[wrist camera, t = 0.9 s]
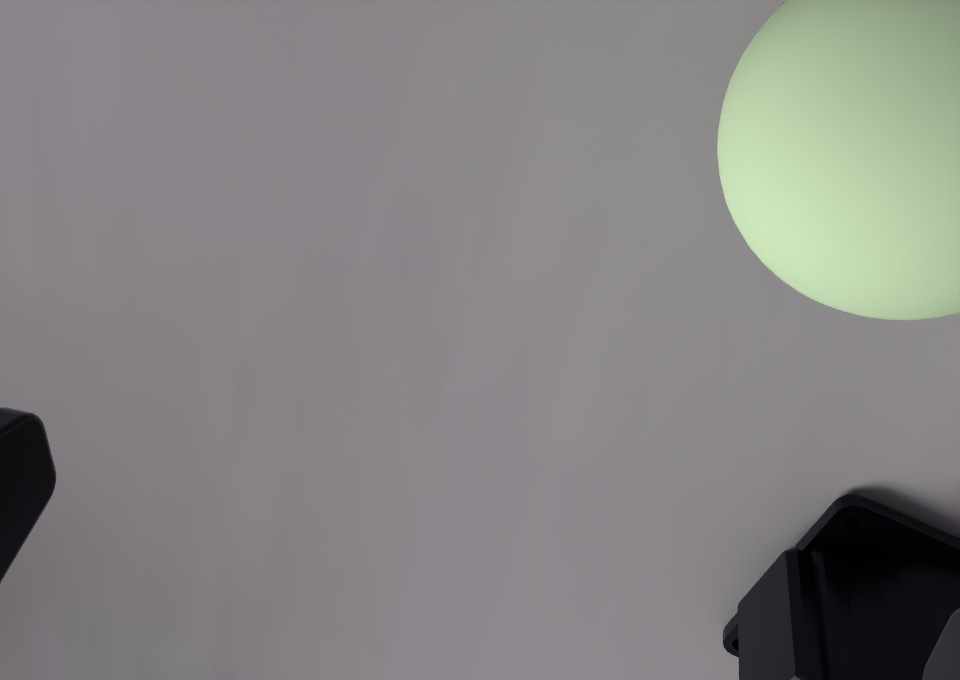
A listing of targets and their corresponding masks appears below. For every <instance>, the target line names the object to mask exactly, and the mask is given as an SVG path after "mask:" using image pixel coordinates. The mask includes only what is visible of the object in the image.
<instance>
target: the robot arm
mask: <svg viewBox="0 0 960 680" xmlns="http://www.w3.org/2000/svg"><path fill="white" fill-rule="evenodd" d="M55 483H56V471H55V466H54V463H53V459H52V455H51V451H50V447H49V443H48V439H47V435H46V431H45V427H44V424H43V422H42V421H41V419H40V418H39V417H38V416H37V415H35V414H33V413H29V412H25V411H20V410H15V409H10V408H0V583H1V581H2V579H3V578H4V576H5V574H6V572H7V571H8V569H9V567H10V566H11V564H12V562H13V561H14V559H15V557H16V556H17V554H18V552H19V551H20V549H21V547H22V546H23V544H24V542H25V540H26V539H27V537H28V535H29V534H30V532H31V530H32V529H33V527H34V525H35V524H36V522H37V520H38V519H39V517H40V515H41V514H42V512H43V510H44V508H45V507H46V505H47V503H48V502H49V500H50V498H51V496H52V494H53V491H54V488H55ZM852 513H857V514H861V515H859V516H858V517H853V518H851V517H846V515H848V514H852ZM723 645H724V648H725V649H726V651H727V652H729V653H731V654H732V655H734V656H737V657H739V680H960V539H958V538H956V537H954V536H952V535H949V534H947V533H945V532H942V531H940V530H938V529H936V528H933V527H931V526H929V525H927V524H924V523H922V522H920V521H917V520H915V519H913V518H911V517H908V516H906V515H904V514H902V513H899V512H897V511H895V510H893V509H890V508H888V507H886V506H883V505H881V504H879V503H877V502H874V501H872V500H870V499H868V498H865V497H862V496H859V495H846V496H843V497H840V498H838V499H837V500H836V501H834V502H833V504H832V505H831V506H830V507H829V508H828V509H827V510H826V512H825V513H824V514H823V515H822V516H821V517H820V518H819V520H818V521H817V522H816V523H815V524H814V525H813V526H812V528H811V529H810V530H809V531H808V532H807V533H806V534H805V536H804V537H803V538H802V539H801V540H800V541H799V543H798V544H797V545H796V546H795V547H792V548H790V549H788V550H786V551H784V552H783V553H782V554H781V555H780V556H779V557H778V559H777V560H776V561H775V562H774V563H773V564H772V566H771V567H770V568H769V569H768V570H767V571H766V573H765V574H764V575H763V576H762V577H761V578H760V579H759V581H758V582H757V583H756V584H755V585H754V586H753V588H752V589H751V590H750V591H749V592H748V593H747V594H746V596H745V597H744V598H743V599H742V600H741V601H740V603H739V604H738V612H737V614H736V615H735V616H734V617H733V618H732V619H731V620H730V622H729V623H728V624H727V625H726V626H725V628H724V630H723Z"/></svg>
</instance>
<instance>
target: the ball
mask: <svg viewBox="0 0 960 680" xmlns="http://www.w3.org/2000/svg"><path fill="white" fill-rule="evenodd" d="M717 155H718V165H719V174H720V180H721V184H722V188H723V192H724V196H725V200H726V203H727V206H728V208H729V210H730V213H731V215H732V218H733V220H734V222H735V224H736V225H737V227H738V229H739V230H740V232H741V234H742V235H743V237H744V239H745V240H746V242H747V244H748V245H749V247H750V248H751V249H752V250H753V252H754V253H755V254H756V255H757V257H758V258H759V259H760V260H761V261H762V262H763V263H764V264H765V265H766V266H767V267H768V268H769V269H770V270H771V271H772V272H773V273H775V274H776V275H777V276H778V277H779V278H780V279H782V280H783V281H784V282H786V283H787V284H788V285H790V286H791V287H793V288H794V289H796V290H797V291H799V292H800V293H802V294H804V295H806V296H808V297H809V298H811V299H813V300H815V301H817V302H819V303H822V304H825V305H827V306H830V307H833V308H835V309H838V310H841V311H844V312H848V313H852V314H856V315H861V316H865V317H871V318H879V319H886V320H918V319H930V318H937V317H942V316H948V315H953V314H957V313H960V0H786V1H785V2H784V3H783V4H782V5H781V6H780V7H779V8H778V9H777V10H776V11H775V12H774V13H773V14H772V15H771V16H770V17H769V19H768V20H767V21H766V22H765V24H764V25H763V26H762V27H761V29H760V30H759V31H758V32H757V33H756V35H755V36H754V37H753V39H752V40H751V42H750V44H749V45H748V47H747V48H746V50H745V52H744V53H743V55H742V56H741V58H740V60H739V62H738V65H737V67H736V69H735V71H734V73H733V75H732V77H731V80H730V83H729V86H728V89H727V92H726V95H725V98H724V102H723V106H722V112H721V117H720V123H719V128H718V146H717Z"/></svg>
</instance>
